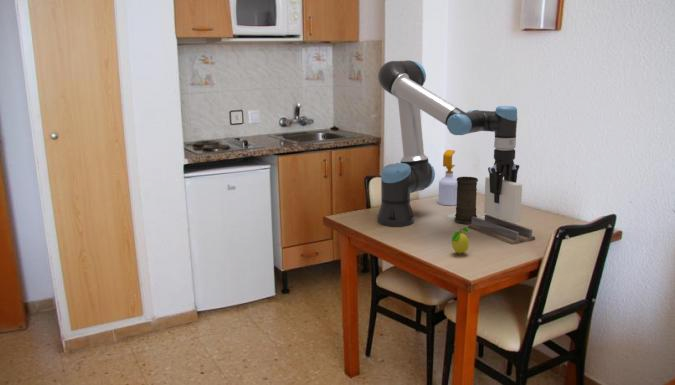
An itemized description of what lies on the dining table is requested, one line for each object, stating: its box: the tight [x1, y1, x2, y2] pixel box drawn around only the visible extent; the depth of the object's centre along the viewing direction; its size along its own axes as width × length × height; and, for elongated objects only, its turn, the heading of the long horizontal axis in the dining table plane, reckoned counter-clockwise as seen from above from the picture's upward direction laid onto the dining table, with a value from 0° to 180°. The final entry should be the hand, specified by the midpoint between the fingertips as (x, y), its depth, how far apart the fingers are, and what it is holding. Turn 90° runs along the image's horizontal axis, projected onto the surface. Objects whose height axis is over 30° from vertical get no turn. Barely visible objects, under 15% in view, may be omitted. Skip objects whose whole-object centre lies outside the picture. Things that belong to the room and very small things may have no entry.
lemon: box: [451, 226, 470, 255], centre depth 189 cm, size 7×6×10 cm
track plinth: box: [467, 213, 536, 245], centre depth 211 cm, size 11×24×4 cm, turn 27°
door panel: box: [483, 176, 523, 224], centre depth 209 cm, size 4×16×14 cm, turn 27°
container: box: [454, 176, 479, 225], centre depth 226 cm, size 9×9×18 cm
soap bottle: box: [437, 149, 458, 207], centre depth 254 cm, size 9×9×25 cm
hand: (501, 210), depth 210 cm, fingers closed on door panel, 3 cm apart
